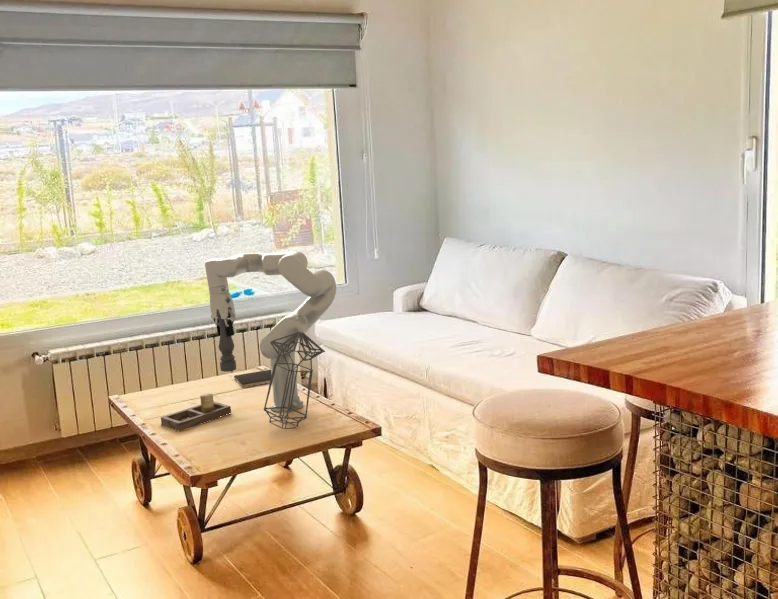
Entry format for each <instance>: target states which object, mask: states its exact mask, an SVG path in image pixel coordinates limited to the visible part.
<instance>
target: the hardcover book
mask: <svg viewBox="0 0 778 599" xmlns="http://www.w3.org/2000/svg"><path fill="white" fill-rule="evenodd" d="M271 376H272V375H271V369H266V370H260V371H254V372H247V373H242V374H236V375H234V376H233V378H235V379H236V380H237V381H238V382H239V383H240V384H239V383H238V382H237V381H236V380H235V379H234V380H235V381H236V382H237V383H238V384H239V385H240V387H241V388H242V387H244V388H247V387H246V386H250V387H254V386H253V385H256V386H261V385H260V384H262V385H266V384H265V383H268V384H270V380H271Z"/></svg>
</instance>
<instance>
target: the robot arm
mask: <svg viewBox="0 0 778 599" xmlns="http://www.w3.org/2000/svg"><path fill="white" fill-rule="evenodd" d="M308 265H309V261H308V257H307V256H306V255H305V254H304V253H303V252H301V251H284V252H283V251H282V252H267V253H265V252H250V253H238V254H235V255H232V256H230V257H227V258H222V257H215V258H210V259H209V258H208V259H207V260H206V261H205V262H204V268H205V274H206V280H207V281H206V282H207V285H208V293H209V304H210V306H209V307H210V314H211V315H210V317H211V319H212V321H213V322H214V324H215V326H216V330H217V331H216V332H217V337H218V336H219V337H220V327H219V325H218V323H219V320H218V319H217V318H218V317H217V316H216V314H217V309H218V310H219V313H220V315H221V319H224V321H225V324H226V327H225V329H226V335H227V337H229V336H231V337H232V336H234V335H235V330H234V327H233V326H234V322H235V320H236V310H235V304H234V300H233V298H232V294H231V292H230V289H229V282H228V278H233V277H237V276H239V275H241V274H244V273H257V272H258V273H263V274H265V276H282V277H283V278H284V279H285V280H286V281H288V283H290V284H291V285H292V286H294V287H295V288H296V289H297V290H299V291H300V292H301V293H302V294H303V295H305V296H307V298H306V299H305V300H304V301H303V302H302V303H301V304H300V305H299V307H297V308H296V309H294V310H293V311H292V312H290V313H289V314H287V315H286V316H284V317H283V318H282V319H280V320H279V321H278V322H277V323H276V324H275V325H274V326H273V327H272V328H271V329H270V330H269V331H267V332H268V333H267V334H265V335H264V337H262V339H261V341H260V344H259V350H260V352H261V355H263V357H265V358H266V359H268V360H269V359H270V370H271V375H272V371H273V367H274V364H275V362H277V361H276V359H277V357H278V354H277V352H276V351H275V349H274V348H273V346H272V345H271V343H270V342H271V341H273V340H276V339H279V338H282V337H285V336H288V335H291V334H293V333H296V332H303V333H304V334H305V335H306V333H307V332H308V331H309V329H310V328H311V327H312V326H314V324H315V323H317V321H318V320H319V319H320V318H321V317H322V316H323V315H324V314H325V313H326V312H327V311H328V309H329V308H330V306H331V305H332V304H333V301H334V300H335V298H336V294H337V283H336V279H335V277H334V275H333V274H332V273H331V271H328V270H326V269H319V270H316V271H314V272H311V270H309V269H308V268H307V267H308ZM227 316H229V318H228V317H227ZM227 320H229V321H227ZM292 336H294V335H292ZM292 336H289V337H286V338H283V339H280V340H277V341H274V342H279V343H284V342H285V341H286V340H288V339H289V338H291V337H292ZM293 338H294V337H293ZM293 338H292V339H293ZM292 339H291V340H292ZM291 340H289V341H288V342H287V343H285V344H288V343H289V342H290V341H291ZM296 340H297V337H296V338H295V339H294V341H293V342H295V341H296ZM275 344H276V343H275ZM293 344H294V343H292V344H290V346H289V348H290V347H291V346H292V345H293ZM273 345H274V344H273ZM278 345H279V346H280V345H282V344H278ZM279 346H278V347H279ZM294 346H295V345H294ZM294 346H293V347H292V348H291V349H292V350H293V349H294ZM274 347H275V348H276V350H277V351H278V348H277V347H276V346H275V345H274ZM283 348H285V346H284V345H283ZM281 349H282V348H281ZM286 349H288V346H287V347H286ZM282 350H283V349H282ZM286 351H287V350H286ZM295 351H296V350H295ZM295 351H293V352H291V353H289V354H290V356H291V358H290V356H289V354H287V355H285V357H286V360H287V362H288V363H292V361H293V363H294V364H296V352H295ZM280 352H281V350H280V349H279V354H280ZM288 352H290V351H288ZM288 352H284V354H286V353H288ZM281 354H283V351H282V353H281ZM291 359H292V360H291ZM277 360H278V359H277ZM278 363H286V361H285V358H284V356H280V358H279V361H278ZM277 365H279V366H281V367H284V368H286V369H288V366H287V364H277ZM288 365H289V368H290V370H291V369H292V364H288ZM279 366H276V370H275V374H274V378H273V382H272V385H271V387H272V396H273V402H272V403H271V405H270V407H281V404H282V399H283V394H284V389H285V384H286V379H287V374H288V370H289V369H288V370H286V369H283V368H281V367H279ZM295 367H296V365H294V367H293V369H294V368H295ZM296 369H297V367H296V368H295V369H294V370H293V371H296ZM290 373H291V372H290V371H289V376H288V381H287V386H286V391H287V387H288V382H289V378H290ZM292 373H293V372H292ZM295 374H296V372H294V377H293V384H292V392H291V399H292V393H293V387H294V381H295ZM297 379H298V378H297V377H296V383H295V389H294V396H293V402H292V408H291V409H294V410H296V411H298V410H300V409H301V408H302V407H303V406H304V401H302V400H300V395H299V392H298V390H299V389H298V380H297ZM291 380H292V376H291ZM291 380H290V384H289V389H288V393H287V398H286V402H285V406H284V407H288V403H289V395H290V388H291ZM286 391H285V396H286ZM285 396H284V400H285ZM291 399H290V405H291ZM283 404H284V402H283ZM270 407H269V408H270ZM289 408H290V406H289ZM280 409H281V408H277V409H270V410H271V411H274V412H277V413H280ZM287 410H288V409H286V408H284V413H287ZM289 410H290V409H289ZM290 412H294V411H293V410H290ZM281 413H283V408H282V412H281Z"/></svg>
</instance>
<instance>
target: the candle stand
mask: <svg viewBox="0 0 778 599" xmlns="http://www.w3.org/2000/svg"><path fill="white" fill-rule="evenodd" d="M231 408H232V407H231V406H230V405H228V404H224V403H221V402H217V401H214V394H213V393H203V394H201V395H200V404H198V405H195V406H191V407H188V408H186V409H183V410H178V411H176V412H173V413H170V414H167V415H163V416H161V417H160V420H161V422H160V423H161V426H164V427H166V426H167V428H169V427H170V428H169V429H172V428H173V430H175V429H176V431H178V430H179V431H178V432H181V430H182V431H185V430H187V428H188V429H191V428H193V427H197V426H199V425H202V424H205V423H208V422H210V421H209V420H211V421H213V420H212V419H214V420H216V419H215V418H217V419H219V418H218V417H220V416H223V415H226V414H229V413H231V414H232V409H231ZM229 415H230V414H229ZM226 416H227V415H226ZM188 417H189V418H188ZM223 417H224V416H223ZM220 418H221V417H220ZM178 420H179V421H178ZM207 421H208V422H207ZM204 422H205V423H204ZM201 423H202V424H201ZM190 427H191V428H190ZM184 429H185V430H184Z"/></svg>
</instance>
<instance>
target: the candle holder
mask: <svg viewBox="0 0 778 599" xmlns="http://www.w3.org/2000/svg"><path fill="white" fill-rule="evenodd" d="M216 316H217V317H218V318H217V319H218V320H219V323H218V325H219V327H220V336H219V343H218V351H219V352H220V353H221V355H220V358H219V359H220V361H219V367H220V371H221V372H227V373H228V372H233V371H236V370H237V362H236V361H237V360H236V359H235V355H234V354H233V352H234V349H235V343H234V339H233V337H232V336H229V337H227V335H226V329H225V327H226V324H225V321H224V319H221V315H220V313H219V310H218V309H217V314H216ZM227 317H228V318H229V316H227ZM227 321H229V320H227Z"/></svg>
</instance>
